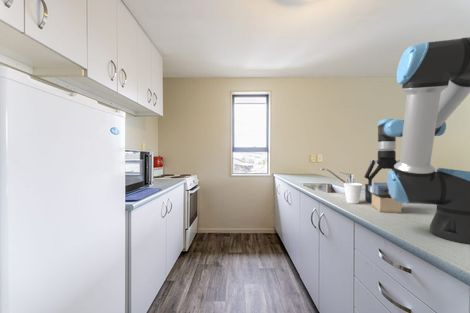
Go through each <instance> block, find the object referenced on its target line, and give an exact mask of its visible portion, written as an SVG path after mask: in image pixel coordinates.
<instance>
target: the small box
mask: <svg viewBox="0 0 470 313" xmlns="http://www.w3.org/2000/svg"><path fill="white" fill-rule="evenodd" d="M364 188H365V189H364V193H365V194H364V198H365V199H364V200H365V202H366V203H369V204H372V194H374V193H371V192H370V191H368V183H364ZM380 194H390V193H389V189H388V188H380Z"/></svg>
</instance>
